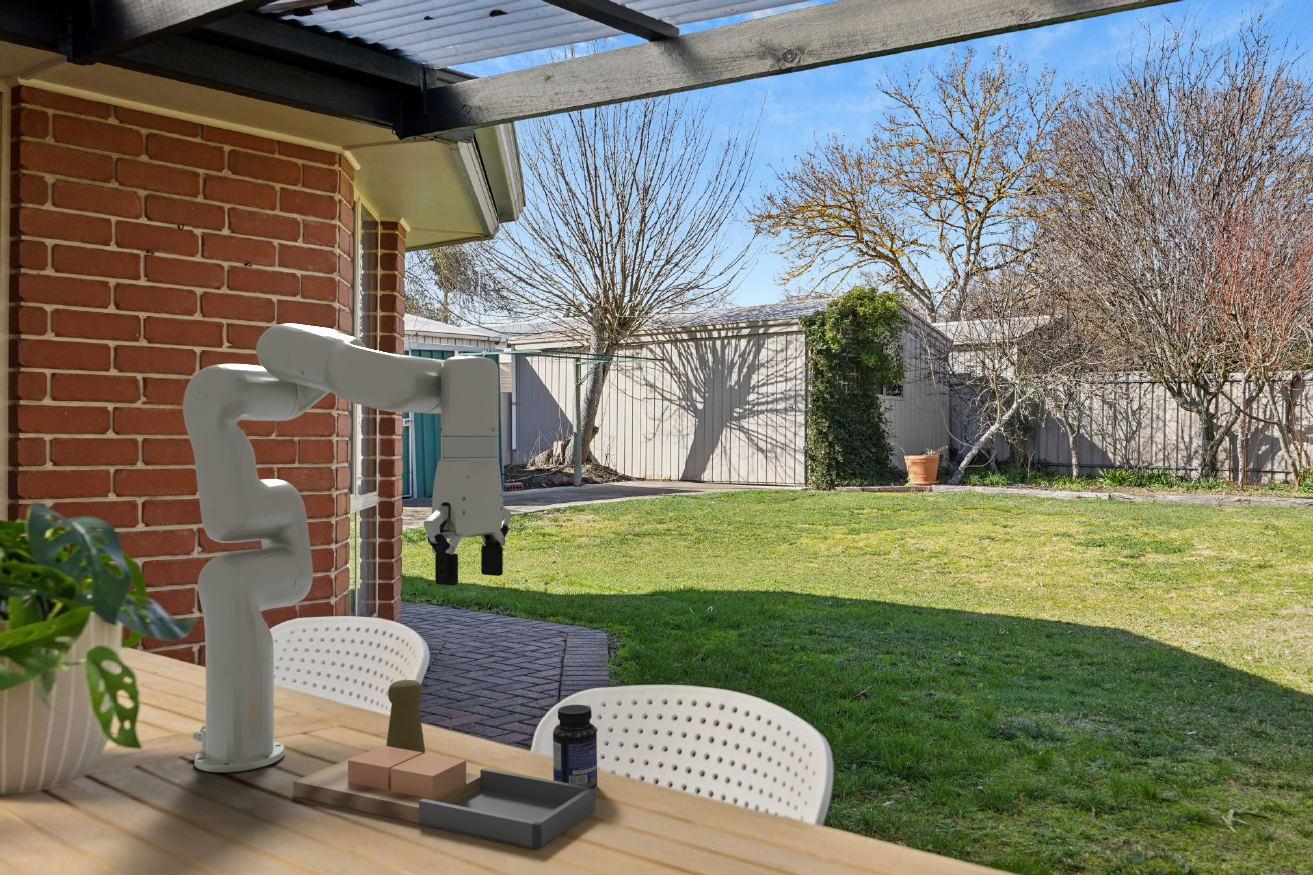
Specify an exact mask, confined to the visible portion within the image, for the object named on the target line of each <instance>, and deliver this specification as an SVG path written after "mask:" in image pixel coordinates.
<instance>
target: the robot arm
mask: <svg viewBox="0 0 1313 875" xmlns="http://www.w3.org/2000/svg"><path fill="white" fill-rule="evenodd" d="M255 353H256V358H257V359H258V360H257V361H258V362H259V364H260V365H253V364H244V363H243V364H242V363H220V364H213V365H210V366H206V367H204V368H201V369H200V370H199V371H198V372H196V373H195V374H194V375H193V376H192V378H191V379H190V381H189V382H188V384H187V386H186V388H185V391H184V392H185V393H184V395H183V400H182V414H183V420H184V425H185V428H186V432H187V435H188V438H189V441H190V444H191V448H192V452H193V456H194V464H195V465H194V466H195V475H196V483H197V484H196V485H197V491H198V501H199V508H200V509H199V510H200V516H201V523H202V526H203V530H204V532H205V534H206V536H207V537H208V538H209V539H210V540H212V541H214V542H217V543H222V544H223V543H224V544H225V543H226V544H227V543H228V544H230V543H245V542H252V541H260V543H261V548H253V549H245V550H237V551H231V552H227V553H223V554H220V555H218V556H215V557H214V558H212V559H210V560H209V561H208V562H206V564H204V566H203V567H202V569H201V571H200V572H199V575H198V580H197V591H198V593H197V594H198V598H199V601H200V606H201V610H202V616H203V623H204V624H203V625H204V638H205V642H204V643H205V644H204V645H205V724H204V725H202V727H201V728H200V731H196V732H194V733H193V735H192V739H193V741H195V742H201V745H202V746H201V751H199V752H198V753H196V755H195V756H194V766H195V767H196V768H197V769H199V770H201V771H204V772H208V773H209V772H210V773H235V772H236V773H237V772H238V773H239V772H244V771H250V770H255V769H259V768H263V767H266V766H269V765H272V764H275V763H277V762H278V761H280V760H281V759H282V758H283V757H284V756H285V753H286V752H285V745H284V744H283V743H281V742H279V741H275V739H274V738H275V733H274V732H275V731H274V730H275V724H274V722H275V721H274V720H275V715H274V714H275V711H274V710H275V709H274V708H275V704H274V703H275V702H274V701H275V695H274V693H275V692H274V691H275V690H274V689H275V688H274V686H275V684H274V682H275V681H274V680H275V674H274V672H275V670H274V668H275V666H274V665H275V664H274V662H275V661H274V660H275V659H274V658H275V657H274V656H275V654H274V650H275V649H274V639H273V634H272V632H271V630H270V628H269V626H268V624H267V622H266V620H265V619H264V616H263V615H262V612H264V611H266V610H271V609H275V608H276V609H277V608H281V607H287V606H291V605H294V604H297V603H299V602H301V601H303V600H304V599H305V598H306V597H307V595H308V594H309V592H310V590H311V588H312V584H313V577H314V576H313V575H314V569H313V567H314V566H313V559H312V558H313V557H312V550H311V543H310V542H311V541H310V534H309V533H310V532H309V525H308V515H307V510H306V506H305V503H304V500H303V498H302V496H301V493H300V492H299V491H298V489H297V488H296V487H295V486H294V485H293V484H292V483H290V482H288V481H286V480H283V479H278V478H277V479H276V478H268V479H260V478H259V473H258V470H257V461H256V455H255V454H256V453H255V450H254V448H253V446H252V443H251V442H250V440H249V438H248V436H247V435H246V434H245V432H244V431H243V430H242V428H240V427H239V425H238V422H240V421H253V422H254V421H256V422H257V421H261V422H263V421H265V422H270V421H271V422H284V421H285V422H286V421H291V420H293V419H297V418H298V417H300V416H301V415H304V413H305V412H307V411H308V410H310V409H311V408H312V407H313V406H314V405H315V404H317V403H318V402H319V401H321V400H322V399H324V398H325V397H326V396H327V395H329V393H331V394H334V395H335V396H336V397H337V398H339V399H341V400H343V401H346V402H349V403H352V404H356V405H360V406H363V407H367V408H371V409H375V410H380V411H385V412H390V413H413V414H414V413H417V414H433V415H434V414H440V460H439V461H437V465H436V469H435V474H434V480H433V489H432V499H431V500H432V501H431V503H432V504H431V515H429V516H428V517H427V518H426V519H425V520H424V521H423V528H424V530H425V533H426V535H427V542H428V544H429V545H430V546H431V552H432V554H435V555H434V556H435V557H434V559H435V560H434V561H435V562H434V564H435V568H434V569H435V571H434V572H435V576H434V578H435V579H434V580H435V583H436V585H441V586H452V587H453V586H457V585H458V583H459V554H458V553H455V552H456V549H457V547H458V546H459V544H460V541H461V539H463V538H464V539H465V538H472V537H480V538H481V540H482V541H483V543H484V544H482V545H480V546H481V549H480V553H481V554H480V555H481V556H480V564H481V565H480V568H481V570H480V571H481V574H482V576H494V577H496V576H497V577H500V576H503V574H504V573H503V572H504V569H503V568H504V567H503V566H504V557H503V556H504V554H503V553H504V552H503V551H504V546H505V545H506V536H507V534H508V533H509V525H510V521H511V518H512V512H511V511H510V510H509V509H507V508H506V507H504V497H503V484H502V483H503V482H502V476H501V475H502V474H501V468H500V463H499V460H500V458H499V456H500V455H499V454H500V452H499V451H500V450H499V443H500V442H499V431H500V430H499V426H500V425H499V422H500V421H499V415H500V414H499V394H500V392H499V367H498V364H497V362H496V361H495V360H494V359H492V358H490V357H484V356H472V355H471V356H470V355H469V356H452V357H449V358H446V359H439V358H438V359H437V358H430V357H423V356H414V355H404V354H403V355H401V354H395V353H388V352H383V351H379V350H374V349H370V348H367V346H366V345H365V343H363V342H362V340H360V339H358V338H356V337H355V336H351V335H345V334H343V333H341V332H340V331H338V330H336V329H334V328H328V327H322V326H321V327H320V326H314V325H306V324H299V323H288V322H287V323H280V324H276V325H274V326H271V327H269V328H267V329H266V330H265V331H264V332H263V333H262V334H261V335H260V337H259V338H258V340H257V343H256V352H255ZM447 539H449V541H448V540H447Z"/></svg>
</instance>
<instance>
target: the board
mask: <svg viewBox="0 0 1313 875" xmlns="http://www.w3.org/2000/svg"><path fill="white" fill-rule="evenodd" d="M362 754H363V753H360V754H358V755H354V756H353V757H351V758H347V759H345V760H342V761H340V762H338V763H336V764H333V765H331V766H328V767H325V768H322V769H320V770H318V771H315V772H313V773H310V774H307V775H305V776H303V777H301V778H297V779H296V780H293V782H292V783H293V789H292V790H293V794H292V796H293V797H295V798H301V799H306V800H309V801H310V800H311V801H315V802H320V803H325V804H328V805H332V806H338V807H343V808H347V809H352V810H355V811H361V812H366V813H369V814H373V815H380V816H384V817H389V818H393V819H398V820H402V821H406V822H411V823H417V824H419V800H421V799H428V800H432V801H437V802H442V803H447V804H454V803H456V802H458V801H460V800H461V799H463V798H465V797H467V796H469V795H471V794H473V793H475V792H476V791H478V790H480V774H475V773H474V774H473V773H468V772H466V783H464V784H462V785H460V786H458V787H456V788H454V789H452V790H450V791H448V792H446V793H444V794H442V795H440V796H438V797H436V798H434V799H429V798H424V797H419V796H414V795H409V794H404V793H399V792H394V791H391V789H390V790H384V789H379V788H374V787H369V786H364V785H359V784H354V783H349V782H348V760H350V759H352V758H355V757H357V756H360V755H362Z"/></svg>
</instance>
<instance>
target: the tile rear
mask: <svg viewBox="0 0 1313 875" xmlns="http://www.w3.org/2000/svg"><path fill="white" fill-rule="evenodd" d="M361 754H362V755H360V754H359V755H360V756H357V755H356V756H357V757H355V756H354V757H355V758H352V757H351V758H352V759H350V758H349V759H350V760H348V782H349V783H354V784H359V785H364V786H369V787H374V788H379V789H384V790H390V789H391V768H392V767H395V766H397V765H399V764H402V763H404V762H406V761H408V760H411V759H413V758H415V757H417V756H420V755H422V754H424V753H423V752H417V751H411V750H406V749H400V748H394V747H389V746H386V745H382V746H379V747H377V748H375V749H372V750H370V751H368V752H364V753H361Z"/></svg>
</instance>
